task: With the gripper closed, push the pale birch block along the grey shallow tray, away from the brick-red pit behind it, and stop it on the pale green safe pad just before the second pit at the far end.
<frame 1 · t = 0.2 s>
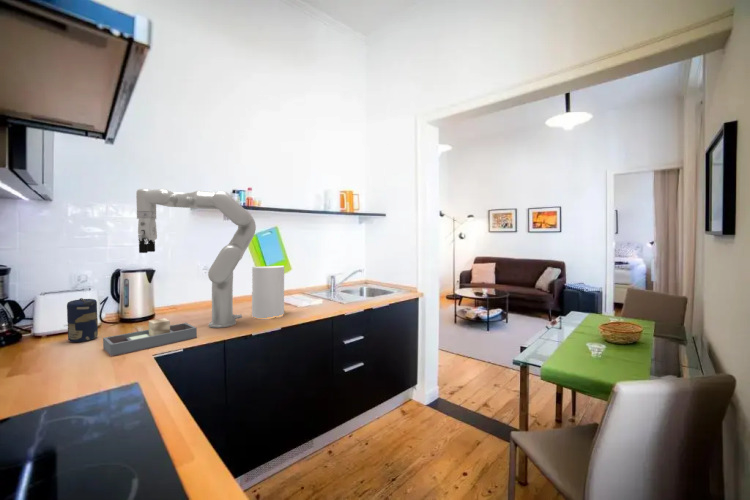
hand: (147, 252, 153), 37 cm above the worktop, tool pointing down, fingers open, 9 cm apart
grey shallow tray: (152, 343, 135), on the worktop
cylinder: (268, 315, 184), on the worktop
birch block: (159, 334, 137), point 3 cm above the worktop, touching grey shallow tray
canister: (83, 340, 138), on the worktop
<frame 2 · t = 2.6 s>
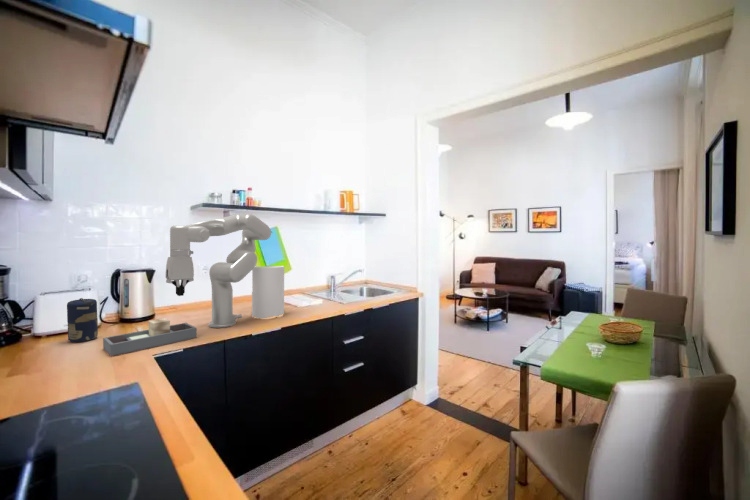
hand: (180, 295, 143), 19 cm above the worktop, tool pointing down, fingers closed
nothing on the worktop moved.
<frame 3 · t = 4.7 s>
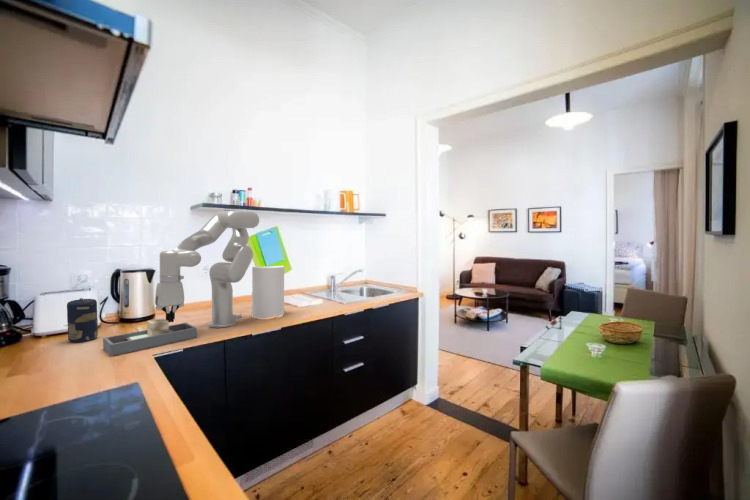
hand: (170, 321, 140), 8 cm above the worktop, tool pointing down, fingers closed
birch block: (158, 334, 137), point 3 cm above the worktop, touching gripper, grey shallow tray
everything else where it was.
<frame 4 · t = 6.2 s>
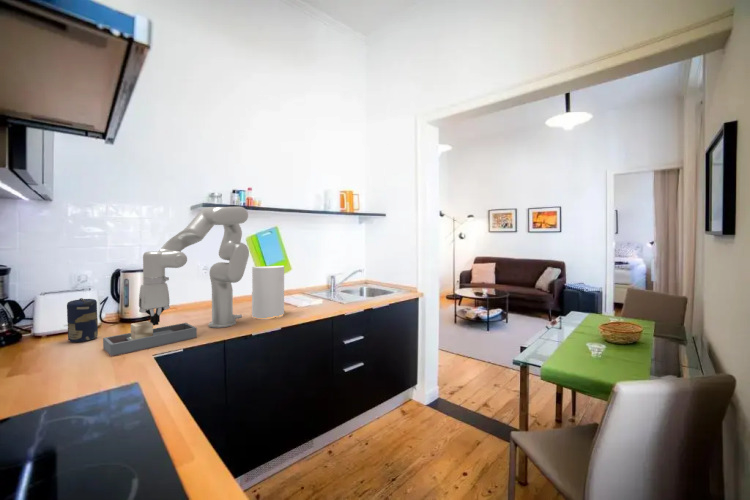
hand: (155, 324, 136), 8 cm above the worktop, tool pointing down, fingers closed
birch block: (142, 338, 133), point 3 cm above the worktop, touching gripper, grey shallow tray
everything else where it was.
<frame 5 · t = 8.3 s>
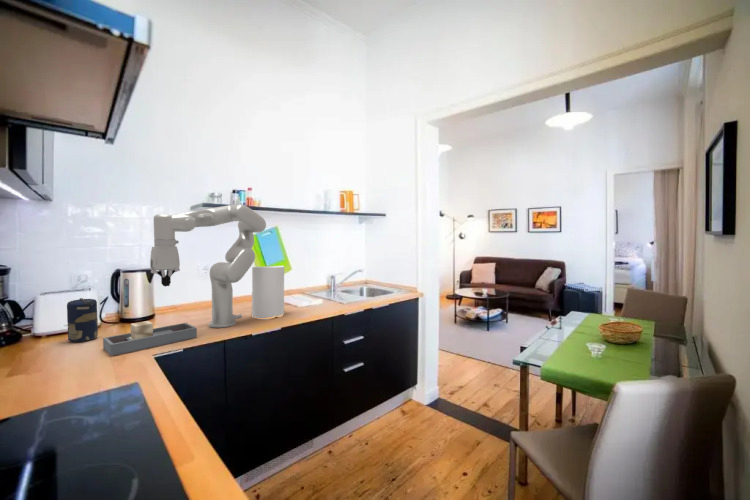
hand: (166, 285, 140), 23 cm above the worktop, tool pointing down, fingers closed
birch block: (142, 338, 133), point 3 cm above the worktop, touching grey shallow tray
everything else where it was.
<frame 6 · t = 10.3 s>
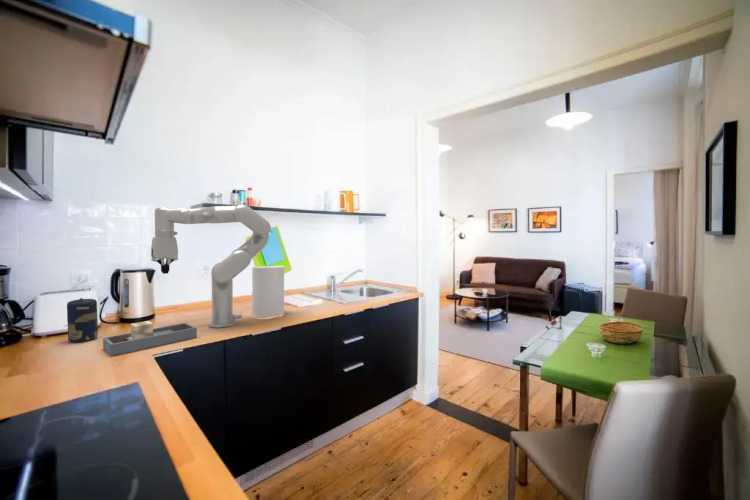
hand: (165, 273, 152), 27 cm above the worktop, tool pointing down, fingers closed
nothing on the worktop moved.
at the end: birch block 0.3 cm from the target spot on the grey shallow tray, point 3.0 cm above the grey shallow tray's base; birch block tilted 0°; birch block moved 6.2 cm from its start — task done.
